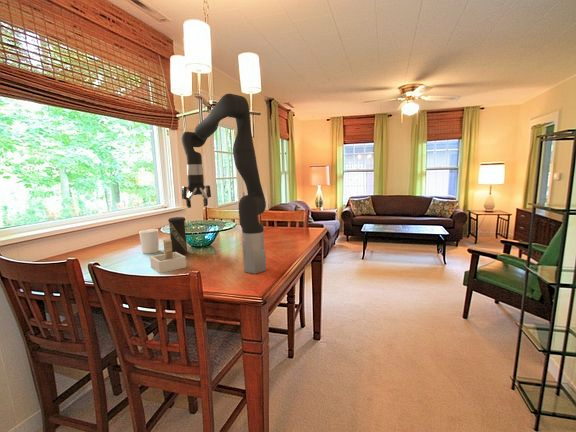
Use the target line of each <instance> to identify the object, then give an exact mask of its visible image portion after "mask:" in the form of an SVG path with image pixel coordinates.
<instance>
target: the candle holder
mask: <svg viewBox="0 0 576 432" xmlns="http://www.w3.org/2000/svg"><path fill="white" fill-rule="evenodd" d="M138 233H139V240H140V246H141V252H142V254H155V253H158V252H159V251H160V250H159V249H160V248H159V247H160V246H159V244H160V243H159V240H160V239H159V229H157V228H149V229H143V230H140V231H138Z"/></svg>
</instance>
